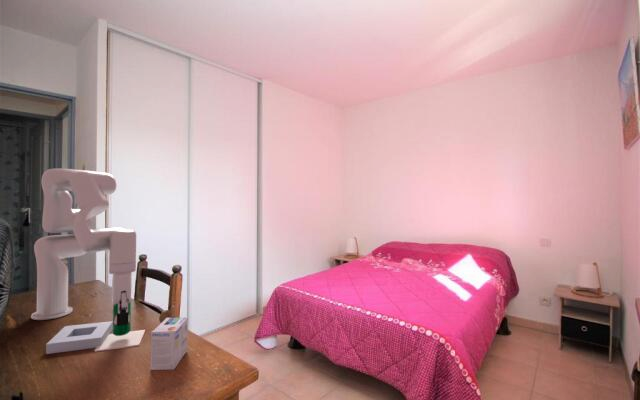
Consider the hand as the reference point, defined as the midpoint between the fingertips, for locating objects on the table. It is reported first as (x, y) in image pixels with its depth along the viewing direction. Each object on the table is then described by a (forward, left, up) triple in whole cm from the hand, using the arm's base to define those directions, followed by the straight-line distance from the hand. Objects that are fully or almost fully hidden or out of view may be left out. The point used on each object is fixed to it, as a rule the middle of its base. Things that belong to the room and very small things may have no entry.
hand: (121, 321), depth 103 cm
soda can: (0, 0, -4) cm, 4 cm away
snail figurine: (+5, +14, -7) cm, 16 cm away
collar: (-4, -12, -6) cm, 14 cm away
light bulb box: (+19, +16, -7) cm, 26 cm away
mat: (0, 0, -6) cm, 6 cm away
